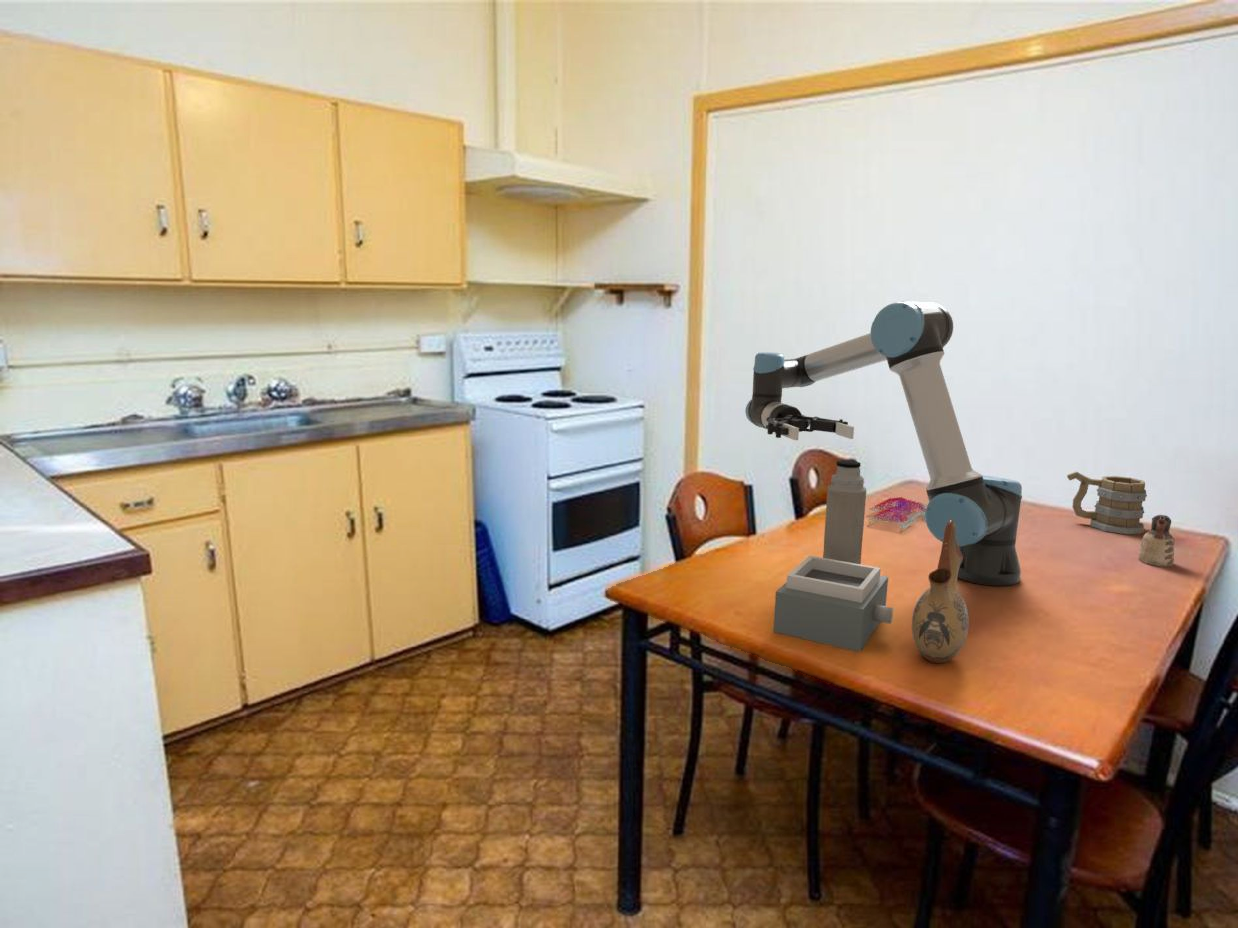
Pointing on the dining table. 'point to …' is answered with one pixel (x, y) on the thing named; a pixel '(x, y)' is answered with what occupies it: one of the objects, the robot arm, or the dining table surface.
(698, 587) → the dining table surface
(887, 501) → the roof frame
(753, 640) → the dining table surface
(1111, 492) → the tankard
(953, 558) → the ceramic vessel
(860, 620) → the box
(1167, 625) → the dining table surface
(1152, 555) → the figurine
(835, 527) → the thermos bottle
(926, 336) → the robot arm
